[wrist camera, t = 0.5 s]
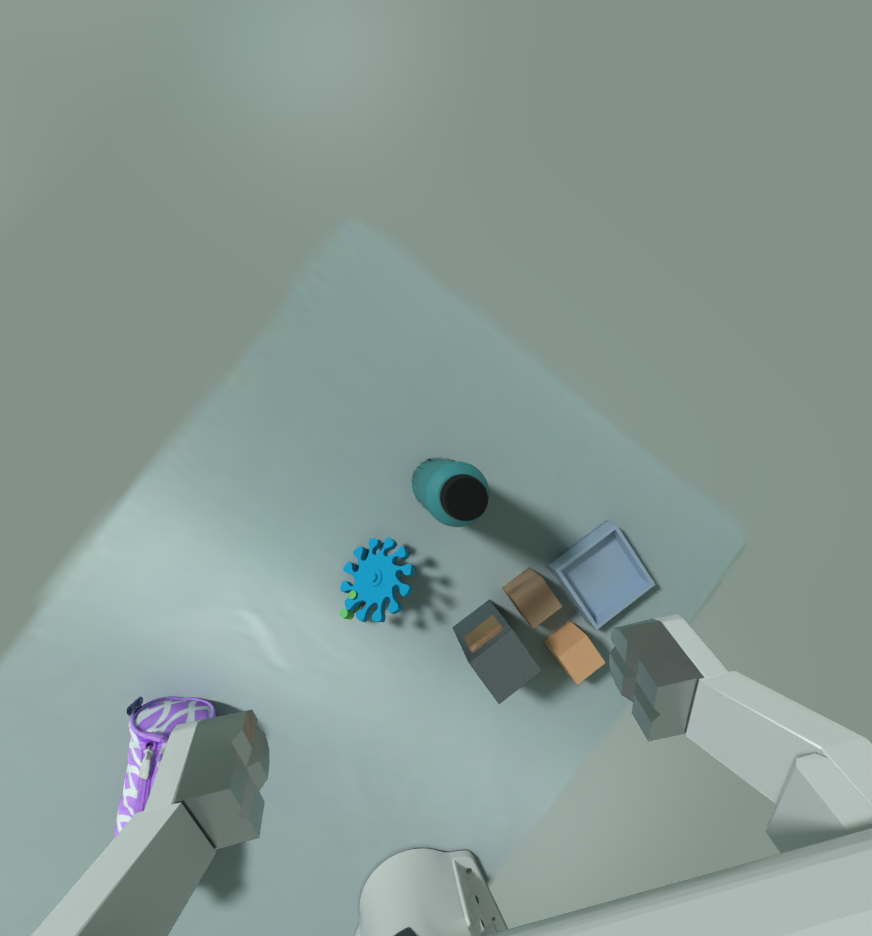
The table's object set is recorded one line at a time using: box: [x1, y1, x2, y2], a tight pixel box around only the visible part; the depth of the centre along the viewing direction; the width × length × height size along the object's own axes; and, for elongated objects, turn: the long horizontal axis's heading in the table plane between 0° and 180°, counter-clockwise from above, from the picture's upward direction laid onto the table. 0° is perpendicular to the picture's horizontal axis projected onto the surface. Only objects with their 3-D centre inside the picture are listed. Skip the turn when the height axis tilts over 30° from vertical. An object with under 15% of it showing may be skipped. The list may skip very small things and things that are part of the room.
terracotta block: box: [544, 621, 605, 685], centre depth 62 cm, size 4×4×5 cm
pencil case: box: [114, 697, 216, 838], centre depth 53 cm, size 22×9×10 cm, turn 173°
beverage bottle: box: [411, 457, 489, 527], centre depth 50 cm, size 6×7×20 cm
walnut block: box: [502, 568, 562, 629], centre depth 60 cm, size 4×4×5 cm
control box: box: [452, 600, 542, 704], centre depth 57 cm, size 7×6×10 cm
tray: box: [548, 521, 655, 630], centre depth 63 cm, size 10×10×3 cm
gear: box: [340, 537, 415, 622], centre depth 58 cm, size 11×6×10 cm
